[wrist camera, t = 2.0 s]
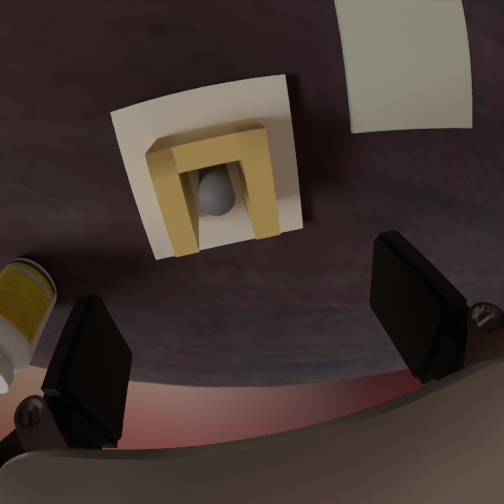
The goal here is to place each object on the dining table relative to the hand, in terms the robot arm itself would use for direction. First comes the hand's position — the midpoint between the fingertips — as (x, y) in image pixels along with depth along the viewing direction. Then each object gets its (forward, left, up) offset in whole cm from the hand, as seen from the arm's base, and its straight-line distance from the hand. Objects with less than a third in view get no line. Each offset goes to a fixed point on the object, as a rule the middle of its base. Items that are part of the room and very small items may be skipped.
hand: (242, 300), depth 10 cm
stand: (0, 0, -15) cm, 15 cm away
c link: (0, 0, -14) cm, 14 cm away
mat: (-8, +18, -15) cm, 24 cm away
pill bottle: (+6, -20, -15) cm, 26 cm away
